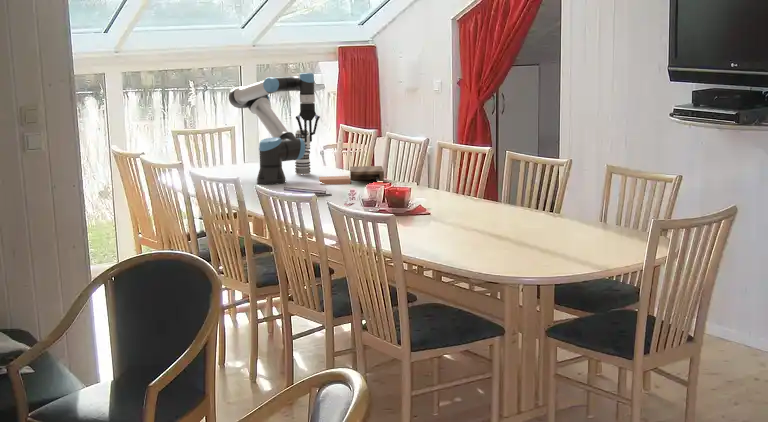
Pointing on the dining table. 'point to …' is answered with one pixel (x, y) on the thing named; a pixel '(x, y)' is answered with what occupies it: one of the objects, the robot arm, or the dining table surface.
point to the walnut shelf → (367, 173)
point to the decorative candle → (303, 163)
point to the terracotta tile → (335, 180)
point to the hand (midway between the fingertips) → (308, 147)
